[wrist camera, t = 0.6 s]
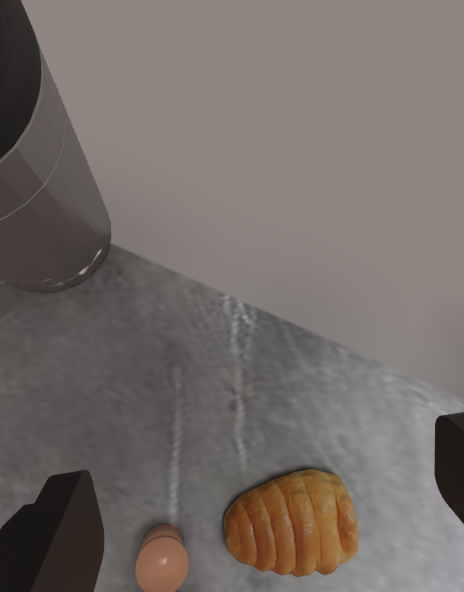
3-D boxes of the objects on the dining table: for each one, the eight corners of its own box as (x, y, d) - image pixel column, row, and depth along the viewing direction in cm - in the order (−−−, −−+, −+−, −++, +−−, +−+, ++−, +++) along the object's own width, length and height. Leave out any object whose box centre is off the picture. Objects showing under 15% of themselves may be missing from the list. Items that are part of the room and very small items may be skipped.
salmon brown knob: (127, 547, 27) (123, 567, 24) (165, 510, 28) (166, 526, 25) (159, 584, 27) (158, 608, 24) (196, 546, 28) (199, 566, 25)
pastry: (226, 576, 28) (235, 609, 24) (218, 478, 29) (225, 496, 25) (346, 551, 30) (372, 580, 26) (334, 460, 31) (358, 474, 27)
